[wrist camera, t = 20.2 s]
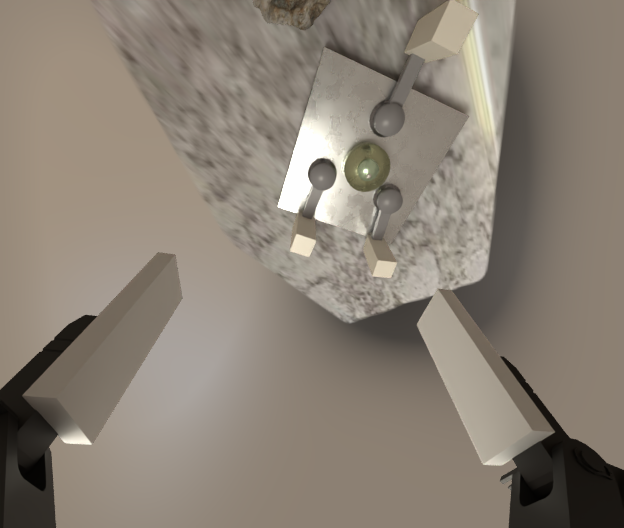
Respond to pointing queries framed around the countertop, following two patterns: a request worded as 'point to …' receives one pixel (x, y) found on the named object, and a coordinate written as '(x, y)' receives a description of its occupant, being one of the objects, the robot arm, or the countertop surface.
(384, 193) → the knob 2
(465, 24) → the gray lever with block
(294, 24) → the rock
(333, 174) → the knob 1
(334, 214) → the level plate
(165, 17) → the countertop surface
